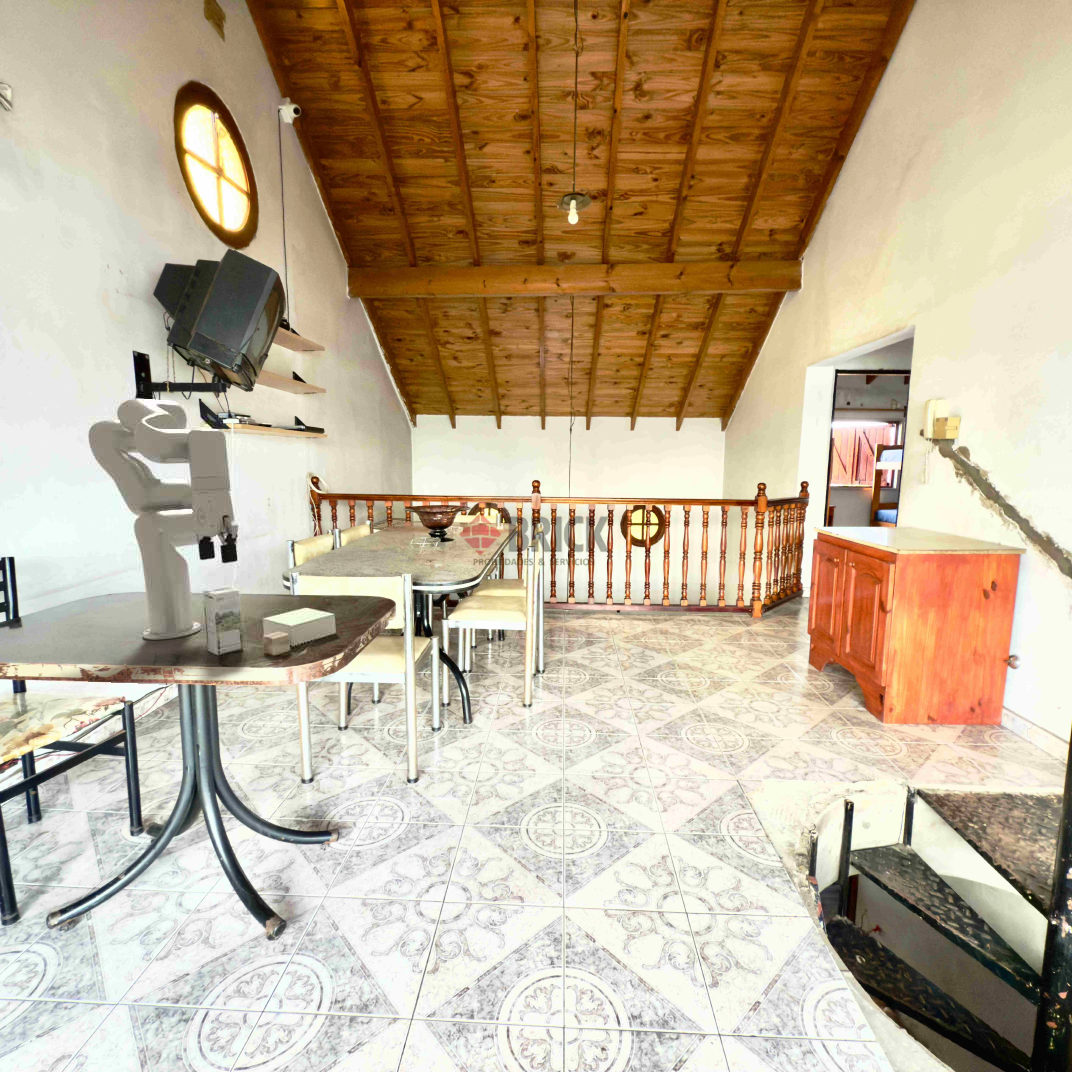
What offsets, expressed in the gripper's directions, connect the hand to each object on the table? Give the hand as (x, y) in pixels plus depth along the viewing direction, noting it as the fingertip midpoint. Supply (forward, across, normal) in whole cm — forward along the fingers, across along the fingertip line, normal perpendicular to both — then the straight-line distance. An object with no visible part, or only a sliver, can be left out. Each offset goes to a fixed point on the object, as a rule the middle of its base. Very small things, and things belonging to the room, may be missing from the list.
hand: (218, 560), depth 128 cm
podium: (+21, +4, +16) cm, 27 cm away
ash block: (+22, +10, +6) cm, 25 cm away
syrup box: (+22, -1, 0) cm, 22 cm away
